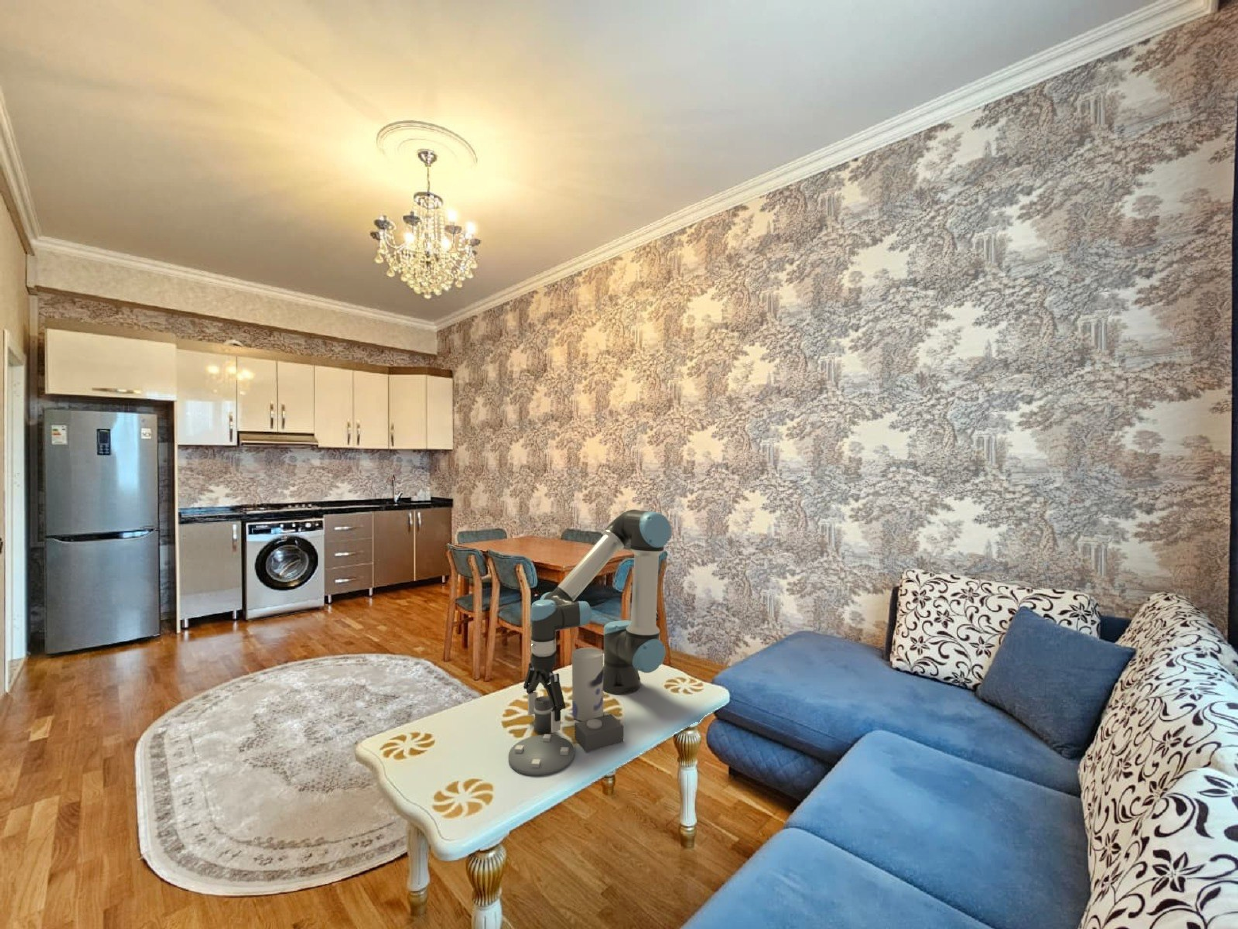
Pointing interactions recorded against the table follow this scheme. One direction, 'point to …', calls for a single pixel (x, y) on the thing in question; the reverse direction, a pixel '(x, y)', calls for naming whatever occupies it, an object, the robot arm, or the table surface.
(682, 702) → the table surface
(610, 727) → the camera body block
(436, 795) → the table surface
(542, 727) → the grey rounded cylinder
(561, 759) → the plate
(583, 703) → the container
